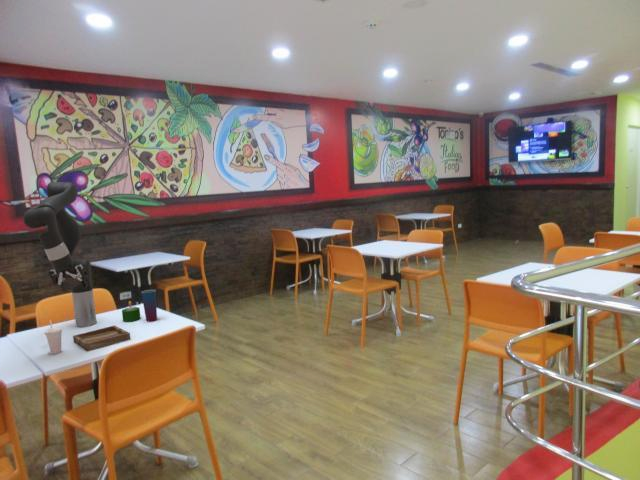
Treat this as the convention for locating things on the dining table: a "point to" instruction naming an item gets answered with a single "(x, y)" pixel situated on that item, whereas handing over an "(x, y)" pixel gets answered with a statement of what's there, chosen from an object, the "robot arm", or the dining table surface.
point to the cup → (150, 305)
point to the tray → (101, 338)
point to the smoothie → (54, 339)
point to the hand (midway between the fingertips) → (76, 289)
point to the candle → (131, 313)
